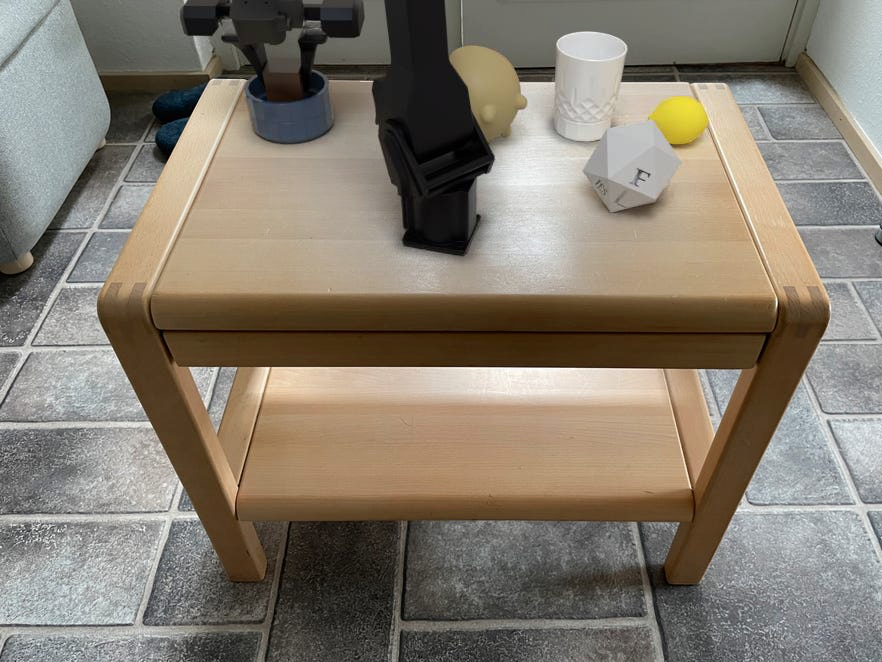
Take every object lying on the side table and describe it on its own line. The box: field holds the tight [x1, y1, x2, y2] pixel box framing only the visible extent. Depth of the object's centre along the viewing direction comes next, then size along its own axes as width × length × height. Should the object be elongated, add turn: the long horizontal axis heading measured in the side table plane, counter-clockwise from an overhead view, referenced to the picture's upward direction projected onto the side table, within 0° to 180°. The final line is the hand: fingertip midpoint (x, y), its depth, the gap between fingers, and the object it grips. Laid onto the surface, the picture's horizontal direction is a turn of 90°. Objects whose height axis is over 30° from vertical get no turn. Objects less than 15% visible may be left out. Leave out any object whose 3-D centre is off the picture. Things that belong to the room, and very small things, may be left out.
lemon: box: [647, 95, 710, 145], centre depth 86 cm, size 7×5×5 cm
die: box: [582, 119, 683, 213], centre depth 76 cm, size 8×9×10 cm
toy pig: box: [449, 45, 529, 143], centre depth 85 cm, size 10×12×11 cm
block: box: [262, 56, 309, 103], centre depth 86 cm, size 4×4×4 cm
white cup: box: [553, 31, 628, 143], centre depth 86 cm, size 8×8×10 cm
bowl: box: [243, 68, 335, 144], centre depth 88 cm, size 10×10×5 cm
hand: (287, 90), depth 86 cm, fingers closed on block, 4 cm apart
